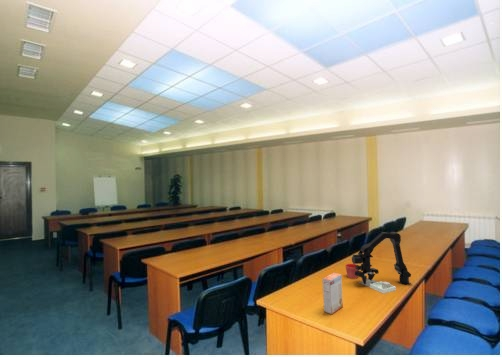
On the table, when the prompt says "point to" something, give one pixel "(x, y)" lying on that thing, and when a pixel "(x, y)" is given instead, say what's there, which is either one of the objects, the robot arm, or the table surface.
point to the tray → (378, 287)
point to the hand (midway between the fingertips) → (367, 283)
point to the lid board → (371, 282)
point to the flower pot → (351, 270)
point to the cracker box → (332, 293)
